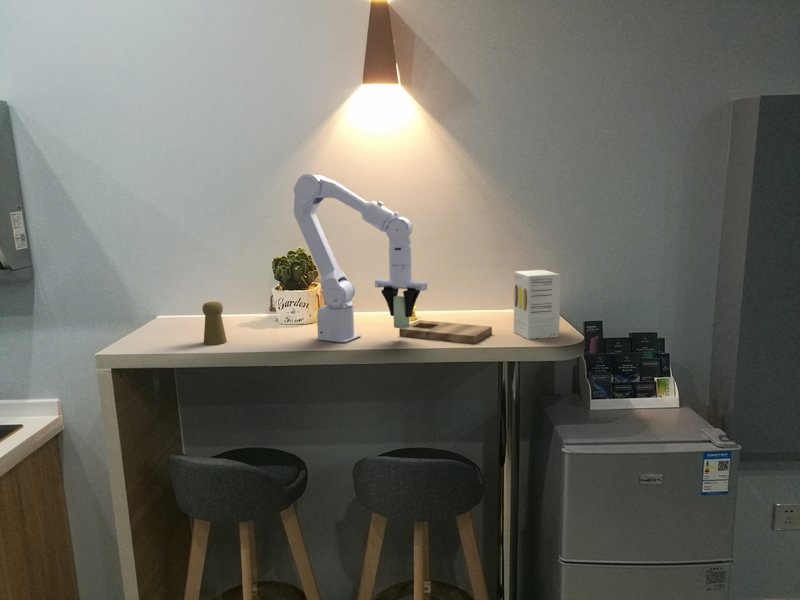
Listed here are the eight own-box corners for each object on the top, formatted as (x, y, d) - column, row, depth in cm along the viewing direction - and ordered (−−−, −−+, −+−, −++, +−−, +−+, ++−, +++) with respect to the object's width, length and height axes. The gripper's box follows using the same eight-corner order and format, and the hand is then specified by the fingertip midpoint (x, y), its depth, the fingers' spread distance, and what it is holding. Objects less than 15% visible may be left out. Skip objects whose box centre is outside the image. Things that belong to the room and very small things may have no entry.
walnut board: (399, 335, 174) (399, 328, 173) (419, 326, 184) (419, 320, 184) (475, 343, 163) (475, 336, 163) (491, 333, 173) (491, 326, 173)
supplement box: (512, 332, 175) (513, 270, 172) (543, 329, 177) (544, 269, 174) (528, 339, 166) (528, 275, 163) (560, 337, 168) (561, 273, 165)
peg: (391, 327, 167) (390, 297, 166) (398, 324, 171) (397, 294, 169) (404, 328, 165) (404, 298, 164) (411, 325, 169) (411, 295, 167)
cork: (199, 342, 171) (196, 302, 169) (219, 338, 175) (216, 299, 174) (210, 346, 167) (207, 305, 165) (231, 342, 171) (228, 301, 169)
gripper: (432, 263, 165) (432, 315, 168) (383, 261, 172) (385, 311, 174) (419, 267, 159) (420, 320, 161) (370, 264, 166) (371, 315, 168)
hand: (401, 316), depth 168 cm, fingers closed on peg, 4 cm apart
